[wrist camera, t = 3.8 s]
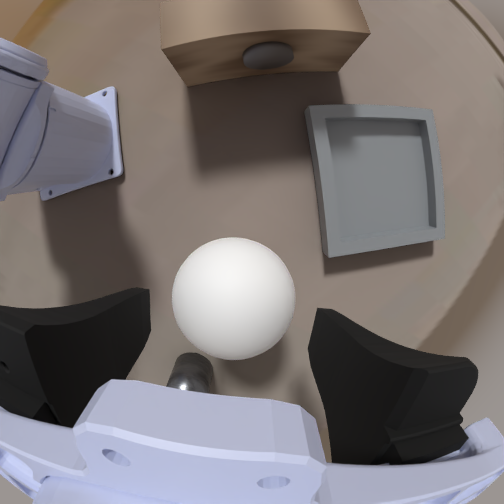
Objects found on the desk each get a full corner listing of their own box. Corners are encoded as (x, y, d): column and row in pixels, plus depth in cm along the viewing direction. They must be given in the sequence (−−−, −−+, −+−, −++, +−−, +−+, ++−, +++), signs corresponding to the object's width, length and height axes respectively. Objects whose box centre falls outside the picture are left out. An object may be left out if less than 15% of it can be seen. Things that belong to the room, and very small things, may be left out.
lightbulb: (293, 268, 22) (330, 345, 11) (229, 307, 22) (214, 402, 12) (251, 202, 20) (252, 222, 10) (185, 246, 21) (127, 305, 10)
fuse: (181, 382, 24) (170, 417, 20) (170, 353, 24) (156, 387, 19) (216, 380, 24) (210, 417, 19) (208, 351, 23) (199, 387, 19)
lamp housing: (188, 93, 18) (161, 57, 11) (183, 44, 17) (159, 0, 10) (339, 77, 18) (373, 41, 11) (326, 30, 17) (351, -14, 10)
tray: (322, 251, 21) (328, 257, 20) (304, 111, 19) (308, 105, 17) (433, 234, 21) (444, 238, 19) (421, 113, 18) (432, 109, 17)
